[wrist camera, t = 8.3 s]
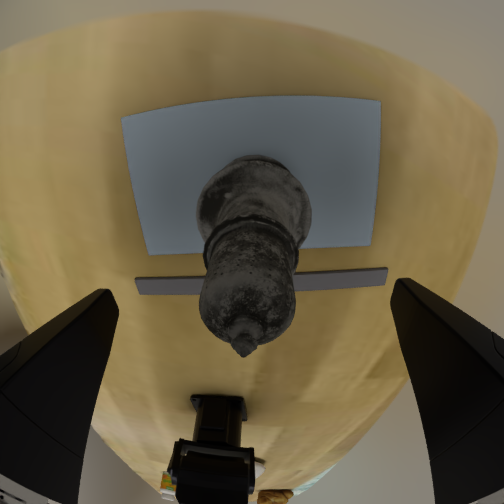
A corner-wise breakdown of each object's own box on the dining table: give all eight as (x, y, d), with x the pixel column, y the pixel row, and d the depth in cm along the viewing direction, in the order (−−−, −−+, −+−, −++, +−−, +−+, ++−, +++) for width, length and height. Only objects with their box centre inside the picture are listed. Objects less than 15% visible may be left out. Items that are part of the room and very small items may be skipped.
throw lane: (383, 282, 20) (385, 285, 20) (140, 292, 21) (139, 295, 21) (404, 105, 14) (407, 105, 13) (99, 124, 15) (96, 124, 14)
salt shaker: (307, 231, 18) (353, 396, 7) (220, 245, 19) (179, 409, 8) (294, 142, 15) (369, 228, 5) (197, 160, 16) (87, 273, 5)
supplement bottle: (177, 473, 58) (173, 500, 49) (182, 476, 60) (178, 502, 52) (160, 470, 58) (156, 496, 50) (166, 474, 61) (162, 498, 52)
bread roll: (294, 487, 66) (295, 506, 59) (291, 491, 71) (291, 508, 64) (257, 488, 66) (257, 507, 59) (256, 492, 71) (256, 509, 64)
